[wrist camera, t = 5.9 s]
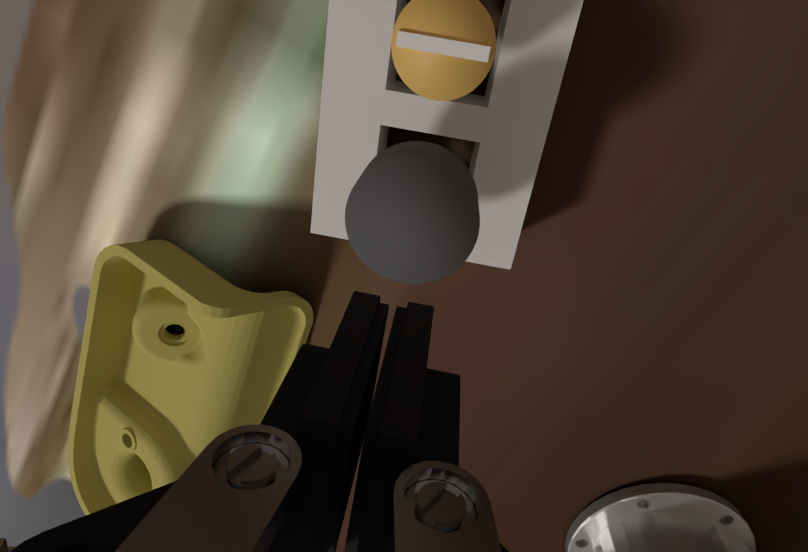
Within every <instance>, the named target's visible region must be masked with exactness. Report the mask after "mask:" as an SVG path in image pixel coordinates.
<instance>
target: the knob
mask: <svg viewBox="0 0 808 552" xmlns="http://www.w3.org/2000/svg"><path fill="white" fill-rule="evenodd" d="M345 227H346V232H347V236H348V239H349V241H350V244H351V246H352V248H353V249H354V251H355V253H356V254H357V255H358V257H359V258H360V259H361V260H362V261H363V263H364V264H365V265H367V266H368V267H369V268H370V269H371V270H373V271H374V272H376V273H377V274H379V275H381V276H383V277H385V278H387V279H390V280H393V281H397V282H401V283H408V284H420V283H428V282H432V281H436V280H438V279H441V278H443V277H445V276H447V275H449V274H451V273H452V272H454V271H455V270H456V269H458V268H459V267H460V266H461V265H462V264H463V263H464V262H465V261H466V259H467V258H468V257H469V255H470V254H471V252H472V251H473V248H474V246H475V244H476V241H477V238H478V235H479V228H480V214H479V202H478V193H477V187H476V184H475V181H474V178H473V176H472V174H471V172H470V171H469V169H468V167H467V166H466V165H465V164H464V162H463V161H462V160H461V159H460V158H459V157H458V156H457V155H455V154H454V153H453V152H451V151H450V150H448V149H446V148H444V147H442V146H440V145H437V144H434V143H430V142H424V141H408V142H402V143H399V144H395V145H393V146H391V147H389V148H387V149H385V150H383V151H382V152H380V153H379V154H378V155H377V156H375V157H374V158H373V159H372V161H371V162H370V163H369V164H368V165H367V167H366V168H365V170H364V171H363V173H362V174H361V176H360V177H359V179H358V180H357V182H356V183H355V185H354V186H353V188H352V190H351V192H350V194H349V197H348V200H347V203H346V209H345Z"/></svg>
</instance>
